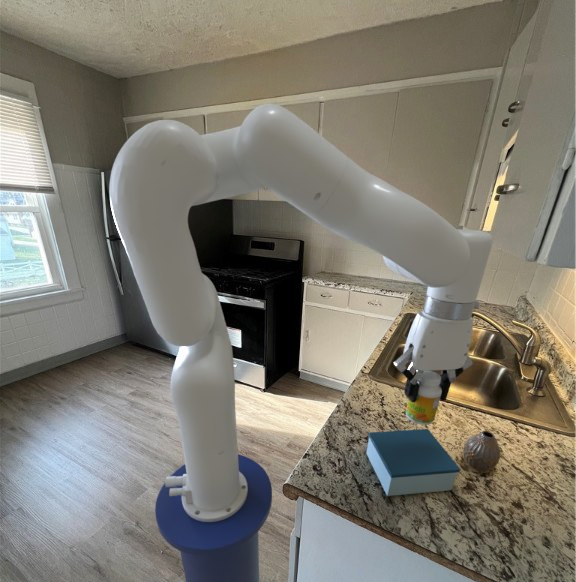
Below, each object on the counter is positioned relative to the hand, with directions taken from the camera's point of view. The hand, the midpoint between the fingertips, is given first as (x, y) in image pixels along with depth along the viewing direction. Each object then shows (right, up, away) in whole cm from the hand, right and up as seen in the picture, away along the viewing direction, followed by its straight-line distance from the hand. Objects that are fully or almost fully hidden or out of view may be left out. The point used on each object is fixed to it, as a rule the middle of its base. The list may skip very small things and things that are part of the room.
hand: (424, 396), depth 61 cm
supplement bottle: (0, -5, +2) cm, 5 cm away
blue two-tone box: (-1, -17, +8) cm, 19 cm away
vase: (+16, -17, +11) cm, 26 cm away
